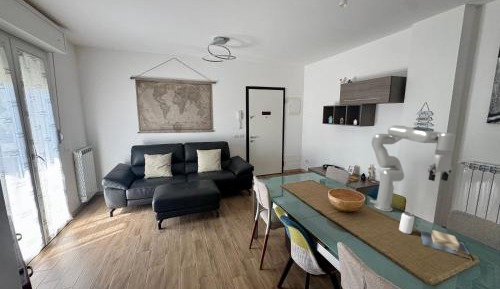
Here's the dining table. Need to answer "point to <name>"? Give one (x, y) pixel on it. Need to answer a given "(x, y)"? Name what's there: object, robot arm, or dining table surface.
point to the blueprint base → (430, 243)
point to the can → (406, 222)
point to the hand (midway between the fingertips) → (437, 180)
